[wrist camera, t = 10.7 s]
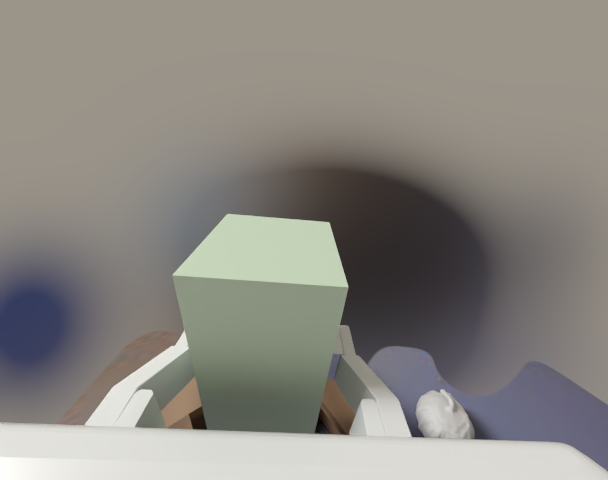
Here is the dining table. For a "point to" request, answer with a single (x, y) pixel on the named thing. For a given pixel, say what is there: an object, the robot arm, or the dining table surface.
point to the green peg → (262, 321)
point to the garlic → (443, 417)
